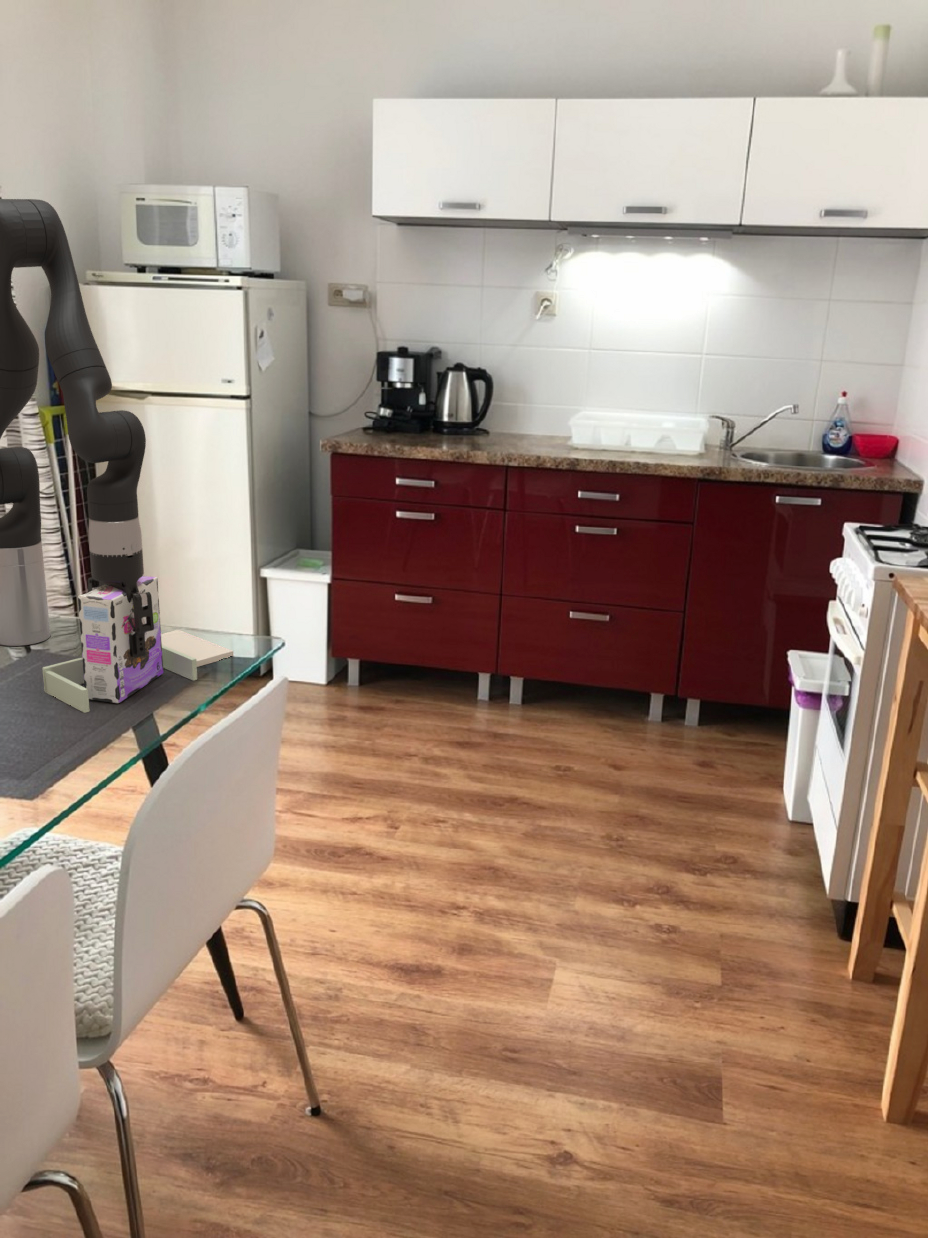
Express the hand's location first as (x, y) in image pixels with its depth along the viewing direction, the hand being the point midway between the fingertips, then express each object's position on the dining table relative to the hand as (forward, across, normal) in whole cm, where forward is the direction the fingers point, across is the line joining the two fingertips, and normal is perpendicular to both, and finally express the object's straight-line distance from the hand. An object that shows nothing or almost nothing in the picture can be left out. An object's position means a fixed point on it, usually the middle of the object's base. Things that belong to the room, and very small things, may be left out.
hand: (123, 649), depth 161 cm
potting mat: (+6, -8, +16) cm, 18 cm away
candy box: (+6, 0, 0) cm, 6 cm away
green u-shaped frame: (+6, 0, 0) cm, 6 cm away
